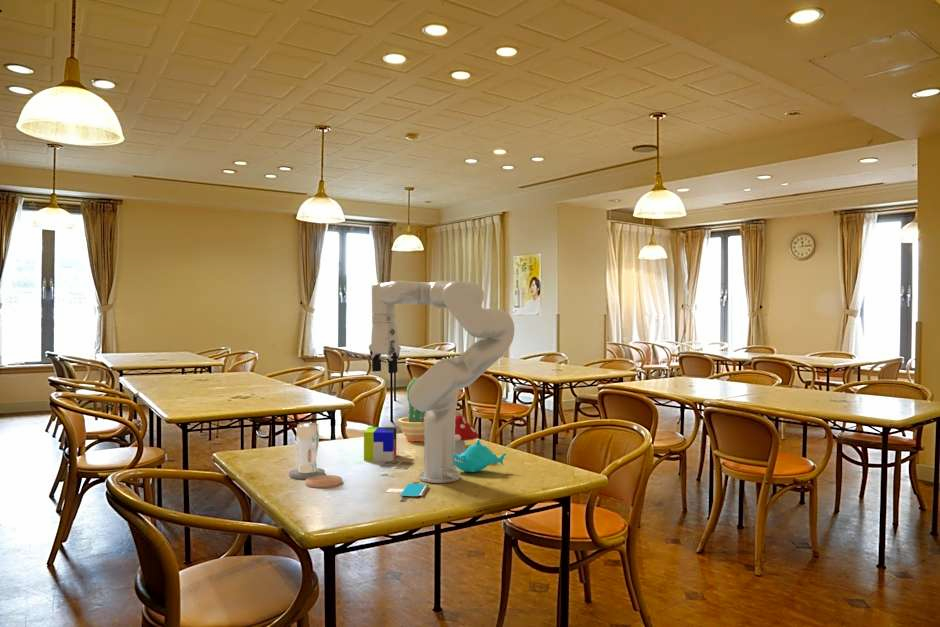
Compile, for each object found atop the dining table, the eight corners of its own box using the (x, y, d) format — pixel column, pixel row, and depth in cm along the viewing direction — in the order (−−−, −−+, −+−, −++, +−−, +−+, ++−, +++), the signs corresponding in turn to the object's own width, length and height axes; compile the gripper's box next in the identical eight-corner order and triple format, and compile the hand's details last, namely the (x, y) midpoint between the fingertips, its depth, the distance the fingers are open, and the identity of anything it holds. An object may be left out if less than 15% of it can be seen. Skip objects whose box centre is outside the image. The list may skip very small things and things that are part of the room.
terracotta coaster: (348, 483, 200) (348, 480, 200) (314, 489, 193) (314, 486, 193) (332, 476, 209) (332, 473, 209) (299, 481, 202) (299, 478, 202)
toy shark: (451, 468, 220) (451, 436, 220) (505, 468, 220) (505, 436, 220) (450, 475, 210) (451, 442, 210) (507, 475, 211) (507, 442, 210)
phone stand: (394, 483, 203) (394, 478, 203) (433, 484, 201) (433, 479, 201) (378, 502, 183) (378, 496, 183) (421, 504, 182) (421, 498, 182)
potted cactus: (430, 444, 258) (430, 380, 258) (392, 442, 261) (392, 379, 261) (439, 436, 273) (440, 376, 273) (403, 435, 276) (404, 375, 276)
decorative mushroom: (472, 462, 228) (473, 419, 228) (434, 460, 232) (434, 417, 232) (482, 453, 242) (482, 412, 242) (446, 451, 245) (446, 411, 245)
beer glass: (321, 469, 213) (321, 422, 213) (314, 474, 207) (314, 426, 206) (300, 468, 214) (301, 422, 214) (292, 474, 207) (293, 426, 207)
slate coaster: (330, 475, 209) (330, 472, 209) (297, 481, 203) (297, 478, 203) (315, 468, 218) (315, 465, 218) (283, 474, 211) (283, 470, 211)
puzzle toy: (392, 461, 230) (392, 432, 230) (363, 461, 230) (363, 432, 230) (396, 454, 240) (396, 427, 240) (368, 454, 240) (368, 427, 240)
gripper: (408, 319, 214) (409, 372, 214) (379, 320, 227) (380, 370, 227) (388, 320, 209) (389, 374, 209) (360, 320, 222) (361, 371, 222)
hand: (384, 372), depth 218 cm, fingers open, 9 cm apart
